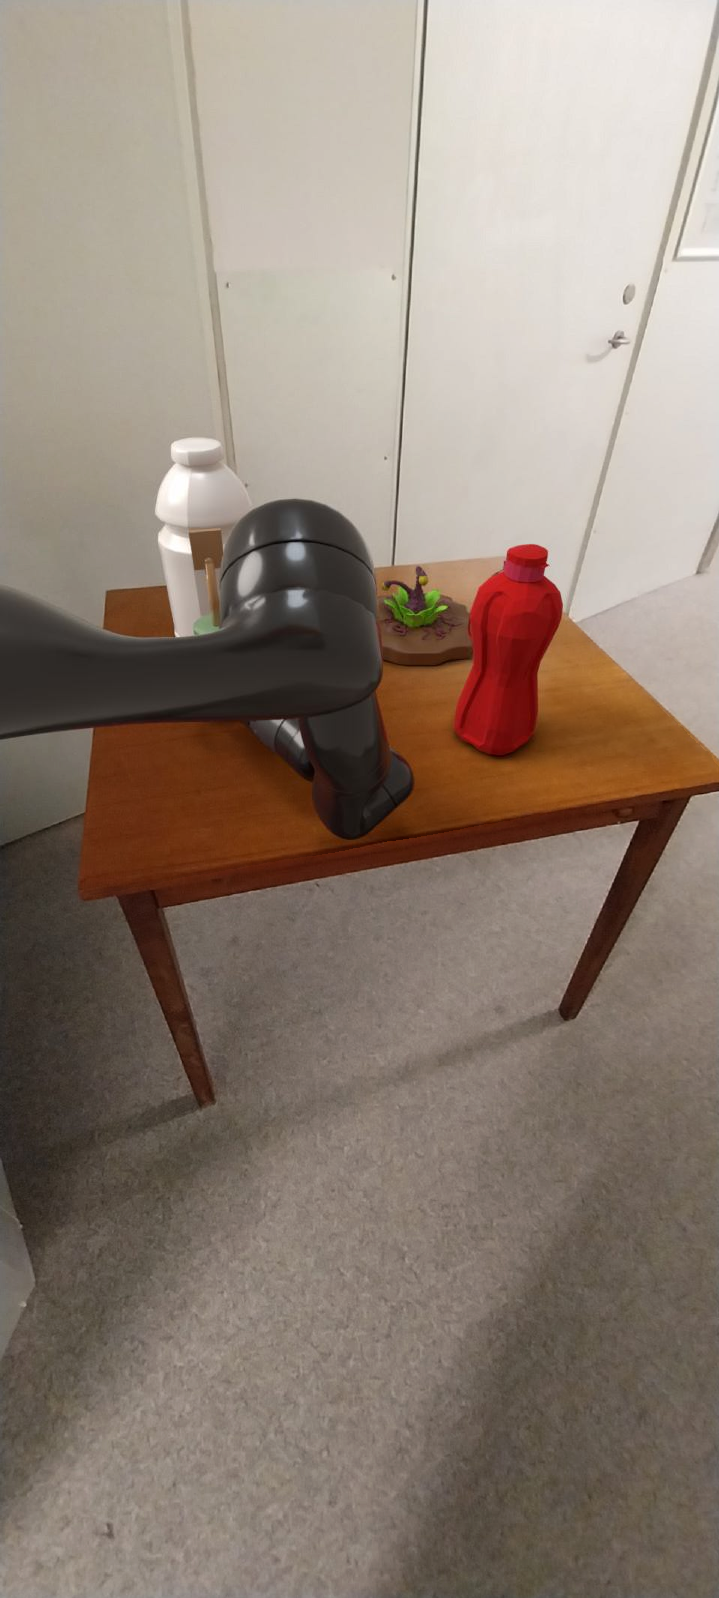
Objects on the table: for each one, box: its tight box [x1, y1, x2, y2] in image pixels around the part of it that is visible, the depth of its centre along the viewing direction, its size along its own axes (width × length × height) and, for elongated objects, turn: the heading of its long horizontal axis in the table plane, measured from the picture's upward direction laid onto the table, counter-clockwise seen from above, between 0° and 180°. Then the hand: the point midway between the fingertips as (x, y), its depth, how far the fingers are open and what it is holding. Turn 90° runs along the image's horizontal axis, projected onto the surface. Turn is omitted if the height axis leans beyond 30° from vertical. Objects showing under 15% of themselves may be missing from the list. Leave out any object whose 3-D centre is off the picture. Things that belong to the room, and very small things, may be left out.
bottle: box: [154, 436, 254, 637], centre depth 95 cm, size 14×14×28 cm
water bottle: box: [453, 543, 564, 756], centre depth 80 cm, size 9×11×25 cm
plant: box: [378, 565, 473, 666], centre depth 103 cm, size 20×20×11 cm
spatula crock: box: [188, 528, 223, 635], centre depth 83 cm, size 6×6×24 cm
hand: (214, 654), depth 88 cm, fingers closed on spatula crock, 6 cm apart
